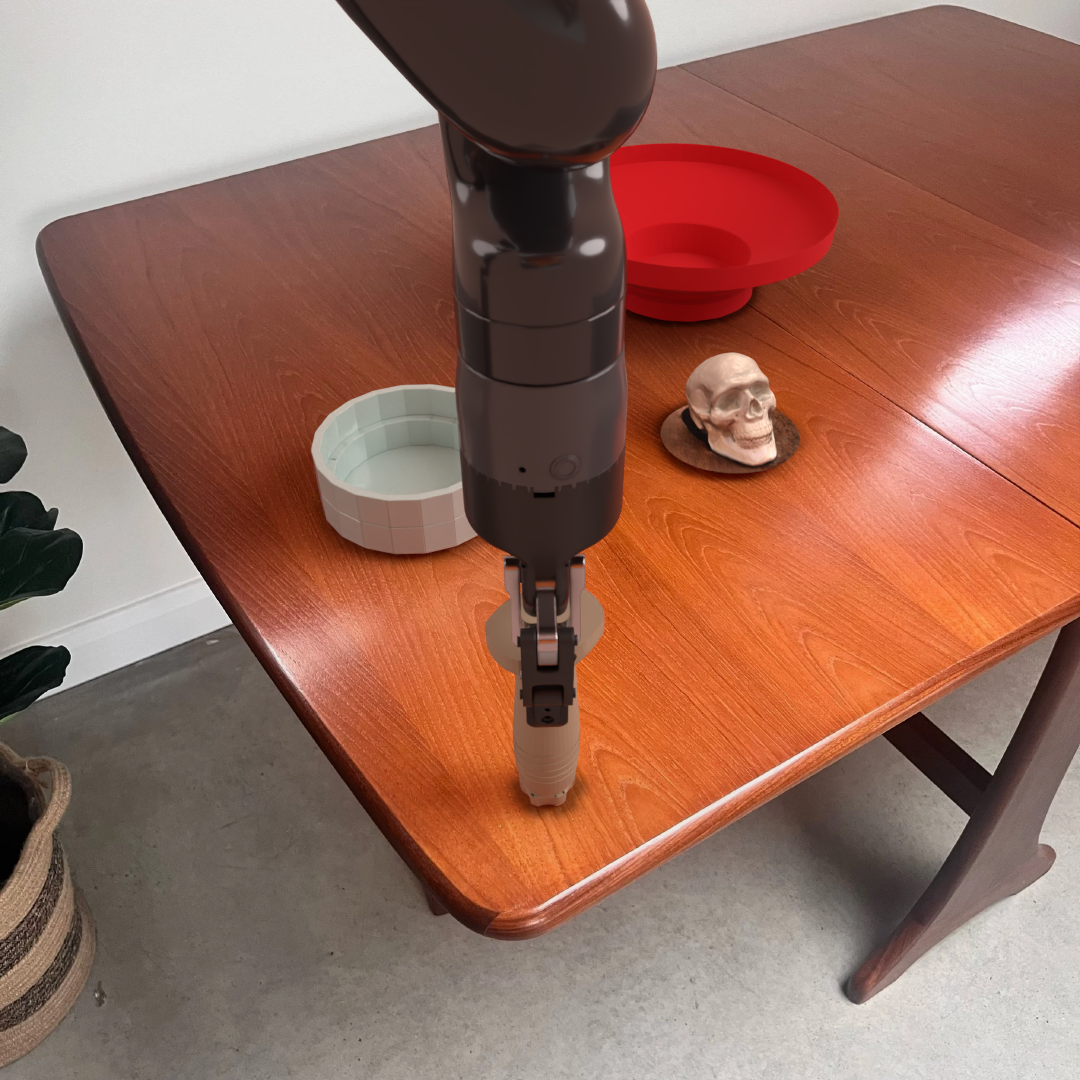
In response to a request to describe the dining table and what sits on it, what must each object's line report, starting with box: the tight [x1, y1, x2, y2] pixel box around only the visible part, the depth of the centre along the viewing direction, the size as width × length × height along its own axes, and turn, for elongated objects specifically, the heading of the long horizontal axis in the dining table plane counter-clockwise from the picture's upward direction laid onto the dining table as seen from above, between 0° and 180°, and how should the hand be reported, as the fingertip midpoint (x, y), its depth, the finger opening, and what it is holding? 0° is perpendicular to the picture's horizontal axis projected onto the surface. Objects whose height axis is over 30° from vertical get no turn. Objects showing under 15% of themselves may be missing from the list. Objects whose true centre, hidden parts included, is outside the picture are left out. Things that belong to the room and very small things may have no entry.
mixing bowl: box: [310, 383, 479, 555], centre depth 84 cm, size 15×15×6 cm
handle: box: [484, 588, 605, 807], centre depth 60 cm, size 5×6×15 cm
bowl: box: [610, 142, 840, 323], centre depth 109 cm, size 30×30×10 cm
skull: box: [660, 352, 801, 474], centre depth 90 cm, size 12×10×10 cm
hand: (545, 677), depth 58 cm, fingers closed on handle, 5 cm apart
